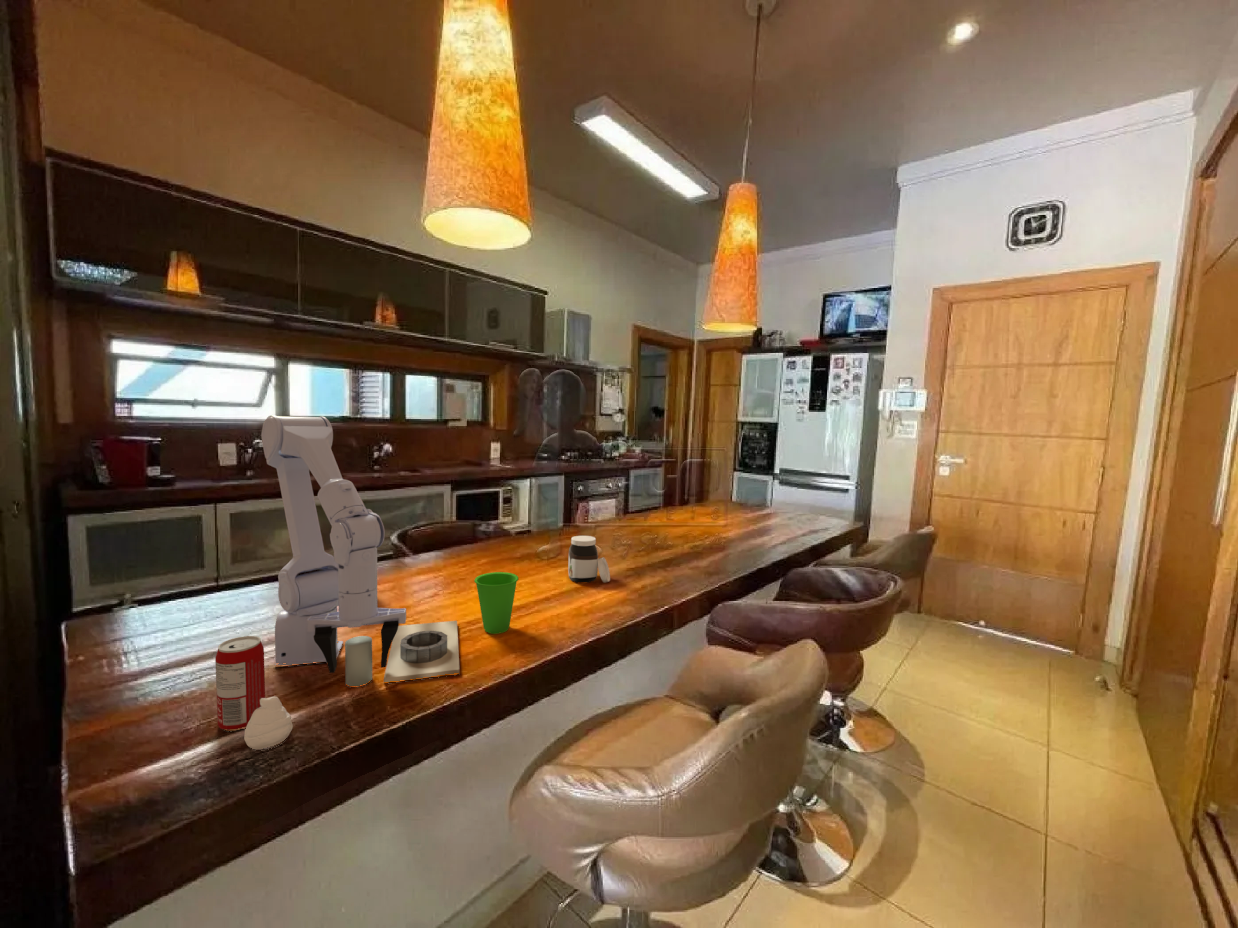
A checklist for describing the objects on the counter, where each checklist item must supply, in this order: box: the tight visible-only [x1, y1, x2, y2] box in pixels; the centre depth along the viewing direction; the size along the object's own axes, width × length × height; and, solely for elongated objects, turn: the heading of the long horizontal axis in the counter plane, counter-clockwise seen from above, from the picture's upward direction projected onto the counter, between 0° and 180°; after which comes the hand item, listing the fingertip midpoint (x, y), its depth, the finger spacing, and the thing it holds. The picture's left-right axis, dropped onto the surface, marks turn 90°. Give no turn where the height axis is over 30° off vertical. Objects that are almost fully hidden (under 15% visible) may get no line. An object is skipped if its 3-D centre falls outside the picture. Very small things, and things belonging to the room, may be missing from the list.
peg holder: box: [383, 620, 460, 683], centre depth 97 cm, size 12×22×4 cm, turn 19°
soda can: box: [214, 635, 266, 730], centre depth 73 cm, size 6×6×12 cm
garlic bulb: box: [243, 696, 294, 750], centre depth 70 cm, size 6×6×5 cm
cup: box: [473, 571, 519, 635], centre depth 108 cm, size 9×9×11 cm
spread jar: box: [567, 535, 611, 583], centre depth 143 cm, size 12×11×12 cm
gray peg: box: [344, 635, 373, 686], centre depth 85 cm, size 4×4×7 cm
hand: (358, 667), depth 86 cm, fingers open, 7 cm apart
